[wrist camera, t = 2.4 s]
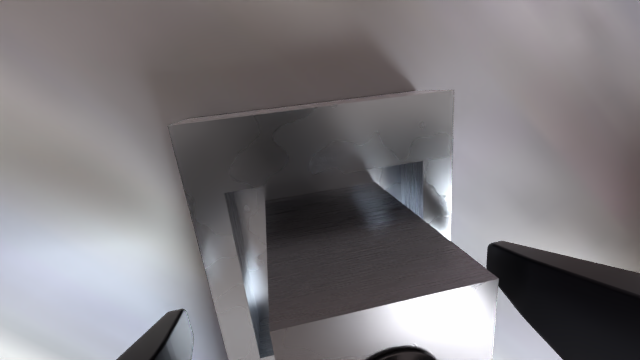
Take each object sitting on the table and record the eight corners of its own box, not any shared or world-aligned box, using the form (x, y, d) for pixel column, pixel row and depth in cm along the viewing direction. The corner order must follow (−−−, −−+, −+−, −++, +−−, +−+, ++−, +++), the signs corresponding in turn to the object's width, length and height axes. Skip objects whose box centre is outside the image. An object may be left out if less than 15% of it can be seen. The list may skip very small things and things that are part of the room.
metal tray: (417, 90, 11) (454, 90, 9) (421, 459, 17) (444, 511, 15) (187, 118, 10) (167, 125, 8) (279, 504, 16) (282, 567, 14)
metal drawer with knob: (375, 182, 11) (502, 281, 5) (380, 275, 12) (489, 442, 6) (265, 200, 10) (269, 336, 5) (282, 297, 11) (303, 502, 6)
